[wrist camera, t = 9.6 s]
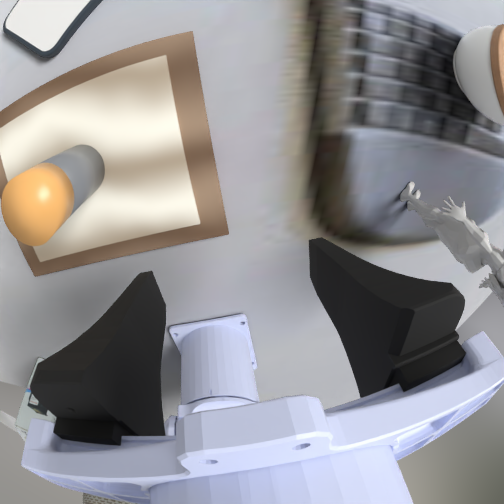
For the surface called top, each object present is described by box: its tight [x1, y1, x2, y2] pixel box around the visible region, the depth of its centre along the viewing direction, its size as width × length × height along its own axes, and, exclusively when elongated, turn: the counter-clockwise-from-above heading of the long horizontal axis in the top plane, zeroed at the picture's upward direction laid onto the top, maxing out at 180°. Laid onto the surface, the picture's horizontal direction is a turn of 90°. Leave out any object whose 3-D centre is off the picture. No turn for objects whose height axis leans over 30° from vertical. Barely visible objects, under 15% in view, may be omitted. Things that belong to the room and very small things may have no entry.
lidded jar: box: [453, 24, 504, 126], centre depth 13 cm, size 11×11×9 cm
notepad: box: [0, 31, 229, 277], centre depth 18 cm, size 16×20×1 cm
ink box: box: [15, 357, 57, 442], centre depth 25 cm, size 9×5×12 cm, turn 153°
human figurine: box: [400, 182, 504, 306], centre depth 16 cm, size 12×4×18 cm, turn 51°
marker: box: [1, 144, 105, 246], centre depth 14 cm, size 4×4×8 cm
